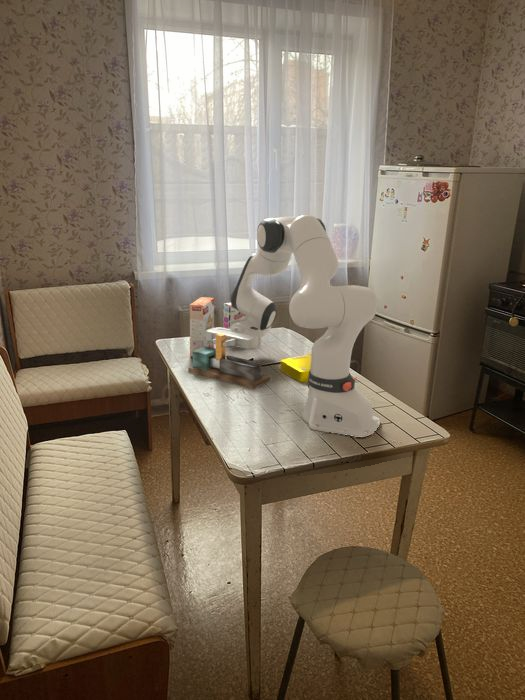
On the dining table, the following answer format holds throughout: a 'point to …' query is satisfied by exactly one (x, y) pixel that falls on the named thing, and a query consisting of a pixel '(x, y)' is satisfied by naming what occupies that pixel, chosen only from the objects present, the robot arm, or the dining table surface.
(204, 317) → the cracker box
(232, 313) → the candy bar box
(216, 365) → the post on white base
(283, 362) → the element tile
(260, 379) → the slide bolt latch board
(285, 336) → the dining table surface
